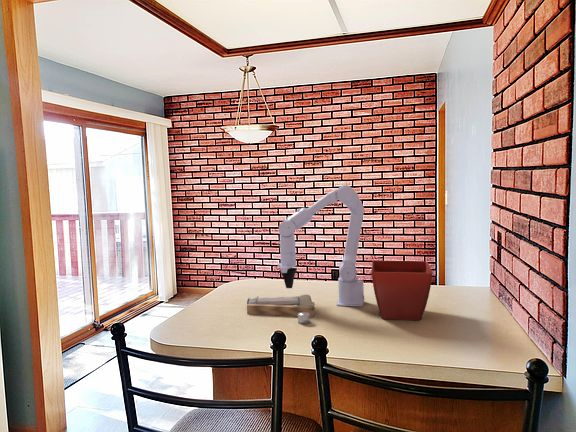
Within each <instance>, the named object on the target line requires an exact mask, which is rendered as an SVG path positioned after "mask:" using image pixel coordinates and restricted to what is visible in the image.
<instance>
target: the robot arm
mask: <svg viewBox="0 0 576 432" xmlns="http://www.w3.org/2000/svg"><path fill="white" fill-rule="evenodd" d="M338 202H341V203H342V204H343V205H345V206H346V207H347V209H348V210H349V211H350V217H349V223H348V229H347V235H346V242H345V248H344V254H343V258H342V261H341V262H340V264H339V269H338V270H339V273H338V274H339V277H338V279H337V280H338V282H337V283H338V300H337V303H336V306H342V307H344V306H345V307H363V306H364V303H365V293H364V292H365V291H364V289H365V288H364V280H362V279H358V277H357V275H358V272H357V267H356V264H357V256H358V249H359V243H360V238H361V237H360V236H361V231H362V225H363V219H364V213H365V207H364V205H363V203H362V200H361V199H360V197H359V195H358V193H357V191H356V190H355V189H354V188H353V187H351V186H350V185H347V184H343V185H340V186H339V187H338V188H335V189H333V190H332V191H331V190H330V192H327V193H326V194H325V195H323V196H322V197H321V198H320V199H318V200H317V201H316V202H315V203H312V205H311V206H309V207H307V208H306V207H302V208H297V209H296V212H294V213H293V214H292V215H290V216H287V217H286V219H285V220H283V221H282V222H281V223H280V224H279V225H278V232H279V249H280V250H279V251H280V252H279V254H280V255H279V256H280V262H279V263H277V267H280V271H279V272H280V275H281V277H282V278H283V281H284V286H285V288H286V289H293V285H294V280H295V276H296V273H297V271H298V269H297V265H298V264H297V257H296V240H295V232H296V230H297V231H299V230H300V229H302V228H303V227H304V226H305V225H307V224H309V223H310V222H311V221H312V220H313V216H314V215H315V214H317V213H318V212H320V211H321V210H322V209H324V208H325V207H327V206H328V205H330V204H337V203H338Z"/></svg>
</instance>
